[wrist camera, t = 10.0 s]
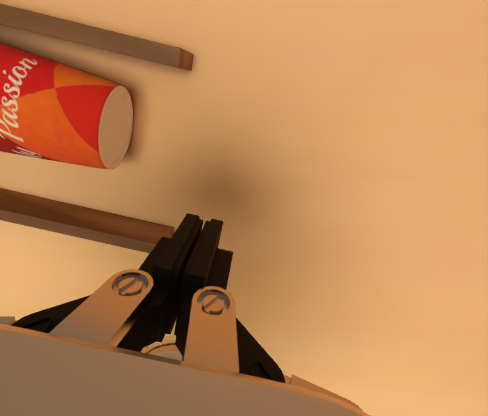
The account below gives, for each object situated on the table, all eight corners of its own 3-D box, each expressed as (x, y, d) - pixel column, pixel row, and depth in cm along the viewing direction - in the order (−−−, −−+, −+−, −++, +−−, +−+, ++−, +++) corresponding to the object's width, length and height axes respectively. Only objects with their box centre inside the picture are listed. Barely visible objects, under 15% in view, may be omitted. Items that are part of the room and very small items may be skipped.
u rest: (172, 236, 24) (160, 255, 21) (-55, 185, 23) (-97, 198, 21) (193, 54, 17) (180, 48, 15) (-119, -23, 17) (-192, -45, 14)
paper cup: (90, 205, 16) (-182, 148, 14) (135, 161, 22) (-45, 118, 20) (85, 65, 12) (-293, -42, 10) (141, 62, 19) (-80, -3, 17)
